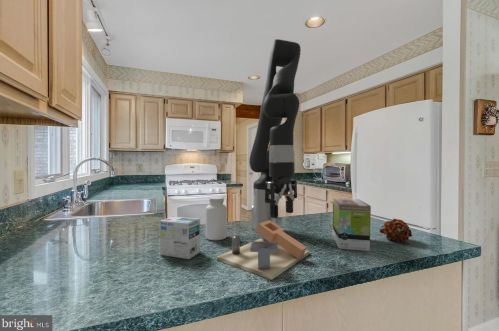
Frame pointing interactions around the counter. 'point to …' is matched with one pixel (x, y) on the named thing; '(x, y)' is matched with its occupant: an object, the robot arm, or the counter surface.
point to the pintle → (235, 244)
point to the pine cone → (396, 230)
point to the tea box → (351, 224)
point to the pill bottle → (216, 219)
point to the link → (280, 238)
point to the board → (250, 261)
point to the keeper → (264, 252)
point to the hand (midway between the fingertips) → (282, 215)
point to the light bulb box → (180, 237)
